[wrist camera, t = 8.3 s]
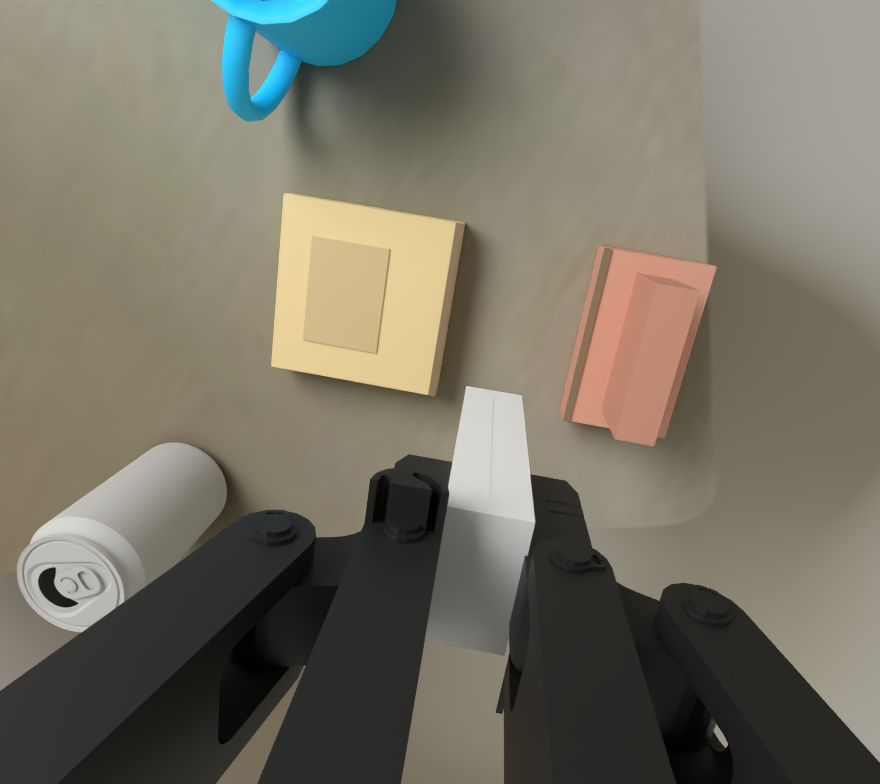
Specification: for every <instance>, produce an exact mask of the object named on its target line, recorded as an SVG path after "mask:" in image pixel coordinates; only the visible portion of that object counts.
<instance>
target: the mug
mask: <svg viewBox="0 0 880 784" xmlns="http://www.w3.org/2000/svg"><path fill="white" fill-rule="evenodd" d="M212 1H213V2H214V3H216V4H217V5H219V6H220V7H221V8H223V9H224V10H226V11H227V12H228V13H230V14H229V18H228V22H227V27H226V31H225V40H224V48H223V57H222V73H223V88H224V92H225V95H226V99H227V102H228V105H229V107H230V108H231V109H232V110H233V111H234V112H235V113H236V114H237V115H238V116H239V117H240V118H242V119H243V120H245V121H257V120H262V119H264V118H266V117H267V116H268V115H269V114H270V113H271V112H273V111H274V110H275V109H276V108H277V106H278V105H279V103H280V102H281V101H282V99H283V98H284V96H285V95H286V93H287V92H288V90H289V88H290V86H291V84H292V82H293V80H294V78H295V76H296V74H297V72H298V69H299V67H300V64H301V62H306V63H309V64H312V65H315V66H332V65H342V64H344V63H347V62H349V61H351V60H354V59H356V58H358V57H360V56H363V55H364V54H365V53H366V52H367V51H368V50H369V49H370V48H371V47H372V46H373V45H374V44H375V43H376V42H377V41H379V40H380V39H381V37H382V35H383V33H384V32H385V30H386V28H387V26H388V24H389V23H390V21H391V19H392V17H393V15H394V11H395V6H396V2H397V0H212ZM255 32H257V33H258V34H260V35H261V36H263V37H264V38H266V39H267V40H268V41H270V42H271V43H273V44H274V45H276V46H277V47H279V48H280V49H281V50H280V52H279V55H278V57H277V60H276V62H275V64H274V66H273V68H272V70H271V72H270V74H269V76H268V77H267V79H266V81H265V82H264V84H263V85H262V86H261V88H260V89H259V90H258V92H257V93H256V94H255V95H254V96H252V97H251V98H250V94H249V65H250V58H251V51H252V44H253V39H254V35H255Z"/></svg>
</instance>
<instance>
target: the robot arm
mask: <svg viewBox="0 0 880 784" xmlns="http://www.w3.org/2000/svg"><path fill="white" fill-rule="evenodd" d="M508 638H509V642H510V653H509V658H508V662H507V666H506V670H505V675H504V679H503V683H502V688H501V692H500V697H499V700H498V705H497V709H496V713H500V714H502V712H503V709H504V784H880V763H879V761H878V760H877V759H876V758H875V757H874V756H873V755H872V754H871V752H870V751H869V750H868V749H867V748H866V747H865V746H864V745H863V744H862V743H861V742H860V740H859V739H858V738H857V737H856V736H855V735H854V733H853V732H852V731H851V730H850V729H849V728H848V727H847V726H846V725H845V723H844V722H843V721H842V720H841V719H840V718H839V717H838V716H837V715H836V713H835V712H834V711H833V710H832V709H831V708H830V707H829V706H828V705H827V703H826V702H825V701H824V700H823V699H822V698H821V697H820V696H819V694H818V693H817V692H816V691H815V690H814V689H813V688H812V687H811V686H810V684H809V683H808V682H807V681H806V680H805V679H804V678H803V677H802V676H801V674H800V673H799V672H798V671H797V670H796V669H795V668H794V667H793V665H792V664H791V663H790V662H789V661H788V660H787V659H786V658H785V657H784V655H783V654H782V653H781V652H780V651H779V650H778V649H777V648H776V647H775V645H774V644H773V643H772V642H771V641H770V640H769V639H768V638H767V637H766V635H765V634H764V633H763V632H762V631H761V630H760V629H759V628H758V626H757V625H756V624H755V623H754V622H753V621H752V620H751V619H750V617H749V616H748V615H747V614H746V613H745V612H744V611H743V610H742V609H741V608H739V607H738V606H737V605H736V604H735V603H734V602H733V601H731V600H730V599H728V598H726V597H724V596H723V595H721V594H719V593H718V592H717V591H714V590H712V589H710V588H709V589H707V588H706V587H704V586H700V585H693V584H687V583H679V584H671V585H669V586H668V587H666V588H665V589H663V592H662V595H661V599H660V601H658V600H656V599H653V598H650V597H648V596H645V595H643V594H640V593H637V592H635V591H633V590H631V589H628V588H626V587H624V586H622V585H621V584H619V583H617V582H616V579H615V576H614V573H613V569H612V567H611V565H610V564H609V562H608V560H607V559H606V558H605V557H604V556H603V555H601V554H600V553H599V552H598V551H597V550H595V549H593V548H592V545H591V541H590V537H589V534H588V530H587V526H586V522H585V519H584V514H583V511H582V509H581V503H580V499H579V495H578V493H577V492H576V491H575V490H574V489H573V488H572V487H571V486H570V485H569V484H568V483H567V482H566V481H564V480H559V479H553V478H547V477H542V476H536V475H531V474H530V468H529V459H528V450H527V440H526V431H525V422H524V412H523V403H522V396H521V395H515V394H509V393H503V392H498V391H492V390H486V389H480V388H475V387H469V386H466V391H465V396H464V402H463V407H462V413H461V418H460V424H459V429H458V435H457V440H456V446H455V451H454V457H453V462H449V461H443V460H438V459H432V458H427V457H421V456H415V455H410V454H409V455H407V456H406V457H404V458H402V459H401V460H399V461H398V462H396V464H395V467H394V468H392V469H386V470H383V471H380V472H378V473H376V474H375V475H374V476H373V477H372V478H371V479H370V485H369V493H368V501H367V509H366V517H365V523H364V526H363V528H362V531H360V532H358V533H355V534H352V535H347V536H341V537H316V532H315V527H314V525H313V524H312V523H311V522H310V521H309V520H308V519H307V518H305V517H303V516H301V515H299V514H297V513H292V512H287V511H284V510H265V511H261V512H256V513H251V514H249V515H247V516H245V517H243V518H241V519H239V520H237V521H236V522H235V523H233V524H232V525H230V526H229V527H228V528H226V529H225V530H223V531H222V532H221V533H219V534H218V535H216V536H215V537H214V538H212V539H211V540H210V541H208V542H207V543H205V544H204V545H203V546H201V547H200V548H198V549H197V550H196V551H194V552H193V553H191V554H190V555H189V556H187V557H186V558H184V559H183V560H182V561H180V562H179V563H178V564H176V565H175V566H173V567H172V568H171V569H169V570H168V571H166V572H165V573H164V574H162V575H161V576H159V577H158V578H157V579H155V580H154V581H152V582H151V583H150V584H148V585H147V586H146V587H144V588H143V589H141V590H140V591H139V592H137V593H136V594H134V595H133V596H132V597H130V598H129V599H127V600H126V601H125V602H123V603H122V604H120V605H119V606H118V607H116V608H115V609H114V610H112V611H111V612H109V613H108V614H107V615H105V616H104V617H102V618H101V619H100V620H98V621H97V622H95V623H94V624H93V625H91V626H90V627H89V628H87V629H86V630H84V631H83V632H82V633H80V634H79V635H77V636H76V637H75V638H73V639H72V640H70V641H69V642H68V643H66V644H65V645H64V646H62V647H61V648H59V649H58V650H57V651H55V652H54V653H52V654H51V655H50V656H48V657H47V658H46V659H44V660H43V661H41V662H40V663H39V664H37V665H36V666H34V667H33V668H31V669H30V670H29V671H27V672H26V673H25V674H23V675H22V676H20V677H19V678H18V679H16V680H15V681H13V682H12V683H11V684H10V685H8V686H6V687H5V688H4V689H2V690H1V691H0V784H216V783H217V781H218V780H219V779H220V777H221V776H222V775H223V774H224V772H225V771H226V770H227V769H228V767H229V766H230V764H231V763H232V762H233V761H234V760H235V758H236V757H237V756H238V754H239V753H240V752H241V751H242V749H243V748H244V747H245V745H246V744H247V743H248V741H249V740H250V739H251V738H252V736H253V735H254V734H255V733H256V731H257V730H258V729H259V727H260V726H261V724H263V722H264V721H265V720H266V718H267V717H268V716H269V715H270V713H271V712H272V711H273V709H274V708H275V707H276V706H277V704H278V703H279V702H280V700H281V699H282V698H283V697H284V695H285V694H286V693H287V691H288V690H289V689H290V688H291V686H292V685H293V684H294V682H295V681H296V680H297V679H298V677H299V675H300V673H301V671H302V668H303V665H306V667H305V669H304V672H303V674H302V677H301V679H300V681H299V684H298V686H297V689H296V691H295V694H294V696H293V698H292V701H291V703H290V706H289V708H288V711H287V713H286V716H285V718H284V721H283V723H282V725H281V728H280V730H279V733H278V735H277V737H276V740H275V742H274V745H273V747H272V750H271V752H270V754H269V757H268V760H267V762H266V764H265V767H264V769H263V771H262V774H261V777H260V779H259V781H258V784H401V778H402V773H403V767H404V761H405V755H406V749H407V743H408V737H409V731H410V724H411V719H412V712H413V707H414V701H415V694H416V689H417V683H418V677H419V671H420V665H421V659H422V653H423V647H424V641H431V642H436V643H441V644H446V645H452V646H456V647H462V648H466V649H472V650H477V651H482V652H487V653H493V654H497V655H503V656H504V655H505V651H506V647H507V643H508ZM716 724H717V725H718V727H719V728H720V730H721V731H722V733H723V734H724V736H725V738H726V740H727V742H728V746H727V747H726V748H725V747H724V746H723V745H722V744H721V742H720V741H719V740H718V738H717V736H716V735H715V733H714V732H713V731H714V728H715V726H716Z"/></svg>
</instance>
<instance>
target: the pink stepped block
mask: <svg viewBox="0 0 880 784" xmlns="http://www.w3.org/2000/svg"><path fill="white" fill-rule="evenodd" d="M716 268H717V267H716V266H712V265H709V264H706V263H701V262H695V261H689V260H683V259H677V258H671V257H666V256H660V255H654V254H648V253H642V252H636V251H630V250H624V249H619V248H613V247H607V246H601V245H599V246H598V250H597V254H596V258H595V263H594V267H593V271H592V275H591V279H590V284H589V288H588V292H587V296H586V300H585V305H584V309H583V313H582V317H581V321H580V326H579V330H578V334H577V338H576V342H575V347H574V351H573V355H572V359H571V364H570V368H569V372H568V376H567V380H566V385H565V389H564V393H563V397H562V401H561V406H560V411H561V415H562V418H563V420H564V421H569V422H570V421H573V422H578V423H584V424H589V425H594V426H600V427H605V428H610V430H611V432H612V434H613V436H614V438H615V439H616V440H621V441H627V442H632V443H638V444H643V445H649V446H654V445H655V442H656V438H657V437H660V438H665V436H666V433H667V430H668V426H669V423H670V420H671V416H672V413H673V410H674V406H675V403H676V400H677V397H678V393H679V390H680V387H681V383H682V380H683V377H684V373H685V370H686V367H687V363H688V360H689V357H690V354H691V350H692V347H693V344H694V340H695V337H696V334H697V330H698V327H699V324H700V320H701V317H702V314H703V311H704V307H705V304H706V301H707V297H708V294H709V291H710V287H711V284H712V281H713V277H714V274H715V271H716Z"/></svg>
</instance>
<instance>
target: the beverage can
mask: <svg viewBox="0 0 880 784" xmlns="http://www.w3.org/2000/svg"><path fill="white" fill-rule="evenodd" d="M226 498H227V485H226V481H225V478H224V475H223V473H222V471H221V469H220V468H219V466H218V465H217V464H216V462H215V461H214V460H213V459H212V458H211V457H210V456H208V455H207V454H206V453H205V452H203V451H202V450H200V449H198V448H196V447H194V446H191V445H188V444H184V443H175V442H174V443H164V444H160V445H158V446H155V447H153V448H152V449H150V450H149V451H147V452H146V453H144V454H143V455H142V456H140V457H139V458H137V459H136V460H135V461H133V462H132V463H130V464H129V465H128V466H126V467H125V468H123V469H122V470H120V471H119V472H118V473H116V474H115V475H113V476H112V477H111V478H109V479H108V480H106V481H105V482H104V483H102V484H101V485H99V486H98V487H97V488H95V489H94V490H92V491H91V492H90V493H88V494H87V495H85V496H84V497H82V498H81V499H80V500H78V501H77V502H75V503H74V504H73V505H71V506H70V507H68V508H67V509H66V510H64V511H63V512H61V513H60V514H59V515H57V516H56V517H54V518H53V519H51V520H50V521H49V522H47V523H46V524H44V525H43V526H42V527H41V528H40V529H39V530H38V531H37V532H36V533H35V535H34V536H33V538H32V540H31V542H30V545H29V546H27V547H26V548H25V550H24V551H23V552H22V554H21V556H20V558H19V561H18V565H17V577H18V584H19V587H20V589H21V592H22V594H23V595H24V597H25V599H26V600H27V602H28V603H29V605H30V606H31V607H32V608H33V609H34V610H35V611H36V612H37V613H38V614H39V615H40V616H42V617H43V618H44V619H46V620H47V621H49V622H50V623H52V624H54V625H56V626H58V627H61V628H63V629H67V630H71V631H75V632H83V631H84V630H86V629H87V628H89V627H90V626H91V625H93V624H94V623H95V622H97V621H98V620H100V619H101V618H102V617H104V616H105V615H107V614H108V613H109V612H111V611H112V610H114V609H115V608H116V607H118V606H119V605H120V604H122V603H123V602H125V601H126V600H127V599H129V598H130V597H132V596H133V595H134V594H136V593H137V592H139V591H140V590H141V589H143V588H144V587H146V586H147V585H148V584H150V583H151V582H152V581H154V580H155V579H157V578H158V577H159V576H161V575H162V574H164V573H165V572H166V571H168V570H169V569H171V568H172V567H173V566H174V565H175V564H176V563H177V562H178V561H179V560H180V558H181V557H182V556H183V555H184V554H185V553H186V552H187V551H188V549H189V548H190V547H191V546H192V545H193V544H194V543H195V542H196V541H197V539H198V538H199V537H200V536H201V535H202V534H203V533H204V532H205V530H206V529H207V528H208V527H209V526H210V525H211V524H212V523H213V521H214V520H215V519H216V518H217V517H218V516H219V515H220V513H221V512H222V510H223V508H224V506H225V503H226Z"/></svg>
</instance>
